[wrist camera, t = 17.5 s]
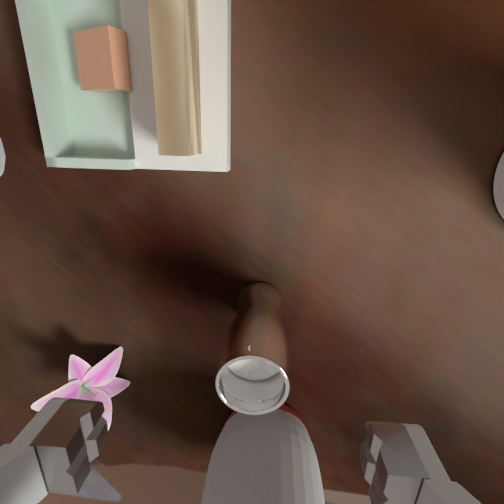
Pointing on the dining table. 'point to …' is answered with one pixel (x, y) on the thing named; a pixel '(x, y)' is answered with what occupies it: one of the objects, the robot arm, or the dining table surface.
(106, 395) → the lily
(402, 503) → the robot arm
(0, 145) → the french press
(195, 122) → the bar
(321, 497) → the citrus juicer
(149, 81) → the plate
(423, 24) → the dining table surface
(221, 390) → the beer glass
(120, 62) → the terracotta tile
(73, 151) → the box
